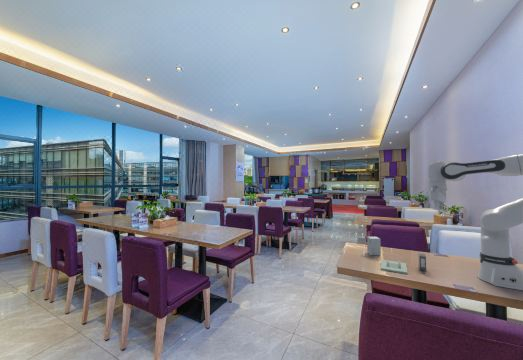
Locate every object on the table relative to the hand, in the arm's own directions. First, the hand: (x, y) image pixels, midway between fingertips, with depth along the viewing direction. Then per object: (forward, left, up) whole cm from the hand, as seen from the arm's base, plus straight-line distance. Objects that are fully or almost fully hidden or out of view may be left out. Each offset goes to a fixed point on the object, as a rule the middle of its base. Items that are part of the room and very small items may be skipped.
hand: (439, 208), depth 139 cm
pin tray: (+22, +15, -38) cm, 47 cm away
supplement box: (+40, -5, -38) cm, 56 cm away
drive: (+8, +7, -38) cm, 39 cm away
